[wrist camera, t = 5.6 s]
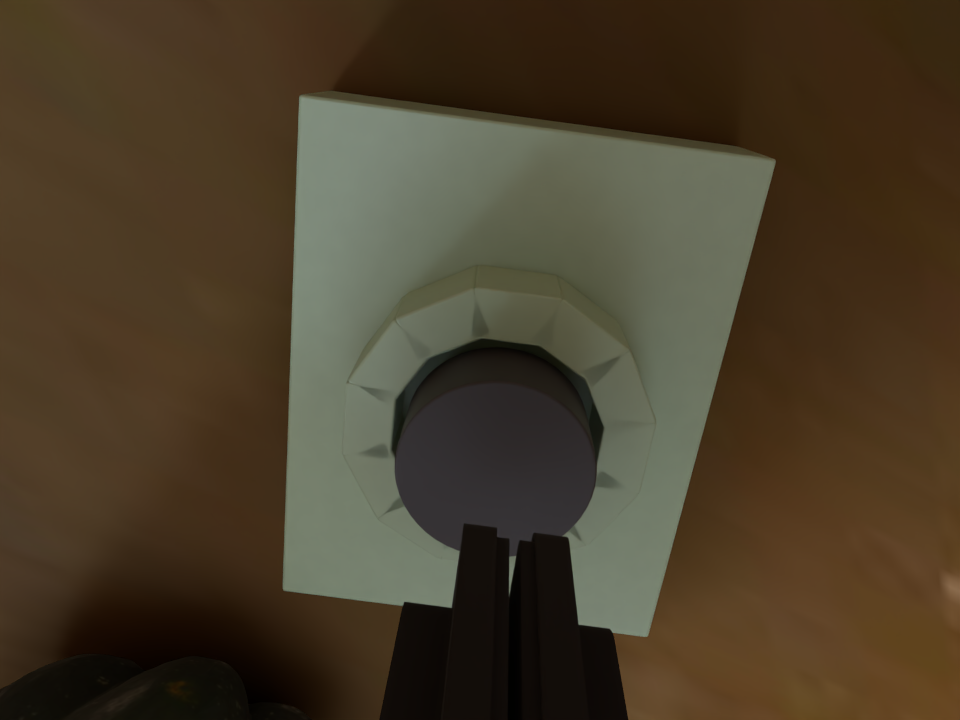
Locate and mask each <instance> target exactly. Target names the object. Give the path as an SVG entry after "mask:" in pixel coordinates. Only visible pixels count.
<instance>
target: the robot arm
mask: <svg viewBox="0 0 960 720" xmlns="http://www.w3.org/2000/svg"><path fill="white" fill-rule="evenodd" d="M509 549H510V540H509V538H502V537H497V527H489V526H482V525H474V524H466V523H464V524H463V531H462V538H461V545H460V552H459V559H458V566H457V573H456V580H455V587H454V594H453V601H452V608H449V607H441V606H434V605H426V604H419V603H411V602H404V604H403V608H402V612H401V617H400V622H399V627H398V632H397V637H396V641H395V646H394V651H393V656H392V661H391V666H390V671H389V676H388V680H387V685H386V690H385V695H384V700H383V705H382V710H381V715H380V720H628V716H627V710H626V704H625V699H624V693H623V687H622V681H621V675H620V669H619V664H618V658H617V652H616V646H615V640H614V637H613V633H612V631H611V630H610V629H608V628H601V627H593V626H586V625H579V624H578V615H577V606H576V597H575V588H574V579H573V571H572V562H571V553H570V544H569V538H568V537H565V536H557V535H549V534H542V533H533V536H532V540H531V541H524V540H520V541H519V544H518V549H517V554H516V560H515V566H514V571H513V577H512V583H511V588H510V594H509Z"/></svg>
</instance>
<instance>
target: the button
mask: <svg viewBox="0 0 960 720" xmlns="http://www.w3.org/2000/svg"><path fill="white" fill-rule="evenodd" d="M596 477H597V461H596V455H595V450H594V445H593V441H592V436H591V432H590V427H589V423H588V419H587V414H586V410H585V407H584V404H583V401H582V399H581V397H580V395H579V393H578V391H577V390H576V388H575V387H574V385H573V384H572V382H571V381H570V380H569V379H568V378H567V377H566V376H565V375H564V373H562V372H561V371H560V370H559V369H558V368H556V367H555V366H554V365H552V364H551V363H549V362H548V361H546V360H545V359H543V358H540V357H538V356H536V355H534V354H531V353H528V352H525V351H522V350H517V349H512V348H503V347H488V348H480V349H474V350H470V351H467V352H464V353H461V354H458V355H456V356H454V357H452V358H450V359H448V360H446V361H445V362H443V363H442V364H440V365H439V366H437V367H436V368H435V369H434V370H433V371H431V372H430V373H429V374H428V375H427V377H426V378H425V379H424V380H423V381H422V382H421V384H420V385H419V387H418V388H417V390H416V391H415V393H414V395H413V397H412V399H411V402H410V405H409V408H408V412H407V415H406V418H405V422H404V425H403V429H402V432H401V435H400V439H399V442H398V446H397V450H396V455H395V479H396V485H397V488H398V492H399V495H400V497H401V499H402V502H403V504H404V506H405V507H406V509H407V511H408V512H409V514H410V515H411V517H412V518H413V519H414V520H415V522H416V523H417V524H418V525H419V526H420V527H421V528H422V529H423V530H424V531H425V532H426V533H428V534H429V535H430V536H432V537H433V538H434V539H436V540H437V541H439V542H441V543H443V544H444V545H446V546H448V547H451V548H453V549H455V550H458V551H460V545H461V538H462V531H463V524H464V523H466V524H474V525H482V526H489V527H497V537H502V538H509V540H510V549H509V557H511V556H516V554H517V549H518V544H519V541H520V540H524V541H531V540H532V536H533V533H542V534H549V535H557V536H563V535H565V534H566V533H567V532H568V531H569V530H570V529H571V528H572V527H573V526H574V525H575V524H576V523H577V522H578V520H579V519H580V518H581V516H582V515H583V513H584V512H585V510H586V509H587V507H588V505H589V503H590V500H591V498H592V495H593V492H594V489H595V485H596Z"/></svg>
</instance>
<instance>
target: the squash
mask: <svg viewBox="0 0 960 720" xmlns="http://www.w3.org/2000/svg"><path fill="white" fill-rule="evenodd" d="M0 720H312V719H311V718H310V717H308V716H307V715H306V714H305V713H304V712H303V711H301V710H299V709H297V708H295V707H293V706H290V705H285V704H281V703H273V702H260V703H254V704H249V705H248V700H247V695H246V691H245V686H244V684H243V682H242V680H241V678H240V676H239V675H238V673H237V672H236V671H235V670H234V669H233V668H232V667H231V666H230V665H229V664H228V663H225V662H222V661H220V660H215V659H211V658H205V657H200V656H188V657H185V658H181V659H177V660H174V661H170V662H166V663H164V664H161V665H159V666H157V667H155V668H153V669H150V670H147V671H144V670H143V669H142V668H141V667H139V666H138V665H137V664H136V663H135V662H133V661H132V660H129V659H124V658H120V657H115V656H110V655H103V654H81V655H77V656H73V657H69V658H65V659H63V660H60V661H57V662H54V663H51V664H48V665H45V666H43V667H41V668H39V669H37V670H35V671H33V672H31V673H29V674H27V675H25V676H23V677H22V678H20V679H19V680H17V681H15V682H14V683H12V684H11V685H8V686H6V687H4V688H2V689H0Z"/></svg>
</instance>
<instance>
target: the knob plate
mask: <svg viewBox="0 0 960 720" xmlns="http://www.w3.org/2000/svg"><path fill="white" fill-rule="evenodd" d="M775 163H776V162H775V159H773V158H770V157H767V156H764V155H762V154H759V153H756V152H753V151H750V150H747V149H744V148H741V147H738V146H732V145H724V144H717V143H710V142H702V141H695V140H688V139H680V138H673V137H666V136H658V135H651V134H644V133H636V132H629V131H622V130H614V129H607V128H600V127H592V126H585V125H578V124H571V123H563V122H556V121H549V120H541V119H534V118H527V117H519V116H512V115H505V114H497V113H490V112H483V111H475V110H468V109H461V108H453V107H446V106H439V105H431V104H424V103H417V102H409V101H402V100H395V99H387V98H380V97H373V96H365V95H358V94H351V93H343V92H336V91H325V92H317V93H310V94H302V95H300V97H299V118H298V147H297V177H296V206H295V236H294V265H293V295H292V324H291V354H290V383H289V413H288V442H287V472H286V501H285V531H284V560H283V590H284V591H289V592H297V593H305V594H313V595H321V596H329V597H336V598H344V599H352V600H360V601H368V602H376V603H384V604H391V605H399V606H403V604H404V602H411V603H419V604H426V605H434V606H441V607H449V608H452V601H453V594H454V587H455V580H456V573H457V566H458V559H459V552H460V551H458V550H455V549H453V548H451V547H448V546H446V545H444V544H443V543H441V542H439V541H437V540H436V539H434V538H433V537H432V536H430V535H429V534H428V533H426V532H425V531H424V530H423V529H422V528H421V527H420V526H419V525H418V524H417V523H416V522H415V520H414V519H413V518H412V517H411V515H410V514H409V512H408V511H407V509H406V507H405V506H404V504H403V502H402V499H401V497H400V495H399V492H398V488H397V485H396V479H395V455H396V450H397V446H398V442H399V439H400V435H401V432H402V429H403V425H404V422H405V418H406V415H407V412H408V408H409V405H410V402H411V399H412V397H413V395H414V393H415V391H416V390H417V388H418V387H419V385H420V384H421V382H422V381H423V380H424V379H425V378H426V377H427V375H428V374H429V373H430V372H431V371H433V370H434V369H435V368H436V367H437V366H439V365H440V364H442V363H443V362H445V361H446V360H448V359H450V358H452V357H454V356H456V355H458V354H461V353H464V352H467V351H470V350H474V349H480V348H488V347H503V348H512V349H517V350H522V351H525V352H528V353H531V354H534V355H536V356H538V357H540V358H543V359H545V360H546V361H548V362H549V363H551V364H552V365H554V366H555V367H556V368H558V369H559V370H560V371H561V372H562V373H564V375H565V376H566V377H567V378H568V379H569V380H570V381H571V382H572V384H573V385H574V387H575V388H576V390H577V391H578V393H579V395H580V397H581V399H582V401H583V404H584V407H585V410H586V414H587V419H588V423H589V427H590V432H591V436H592V441H593V445H594V450H595V455H596V461H597V477H596V485H595V489H594V492H593V495H592V498H591V500H590V503H589V505H588V507H587V509H586V510H585V512H584V513H583V515H582V516H581V518H580V519H579V520H578V522H577V523H576V524H575V525H574V526H573V527H572V528H571V529H570V530H569V531H568V532H567V533H566V534H565V535H563V536H565V537H568V538H569V544H570V553H571V562H572V571H573V579H574V588H575V597H576V606H577V615H578V624H579V625H586V626H593V627H601V628H608V629H610V630H611V631H612V633H619V634H627V635H635V636H643V637H647V636H648V634H649V630H650V627H651V623H652V619H653V616H654V612H655V608H656V604H657V601H658V597H659V593H660V590H661V586H662V582H663V578H664V575H665V571H666V567H667V564H668V560H669V556H670V553H671V549H672V545H673V541H674V538H675V534H676V530H677V527H678V523H679V519H680V515H681V512H682V508H683V504H684V501H685V497H686V493H687V489H688V486H689V482H690V478H691V475H692V471H693V467H694V464H695V460H696V456H697V452H698V449H699V445H700V441H701V438H702V434H703V430H704V426H705V423H706V419H707V415H708V412H709V408H710V404H711V400H712V397H713V393H714V389H715V386H716V382H717V378H718V375H719V371H720V367H721V363H722V360H723V356H724V352H725V349H726V345H727V341H728V337H729V334H730V330H731V326H732V323H733V319H734V315H735V311H736V308H737V304H738V300H739V297H740V293H741V289H742V285H743V282H744V278H745V274H746V271H747V267H748V263H749V260H750V256H751V252H752V248H753V245H754V241H755V237H756V234H757V230H758V226H759V222H760V219H761V215H762V211H763V208H764V204H765V200H766V196H767V193H768V189H769V185H770V182H771V178H772V174H773V171H774V167H775ZM515 560H516V556H511V557H509V594H510V588H511V583H512V577H513V571H514V566H515Z"/></svg>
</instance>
